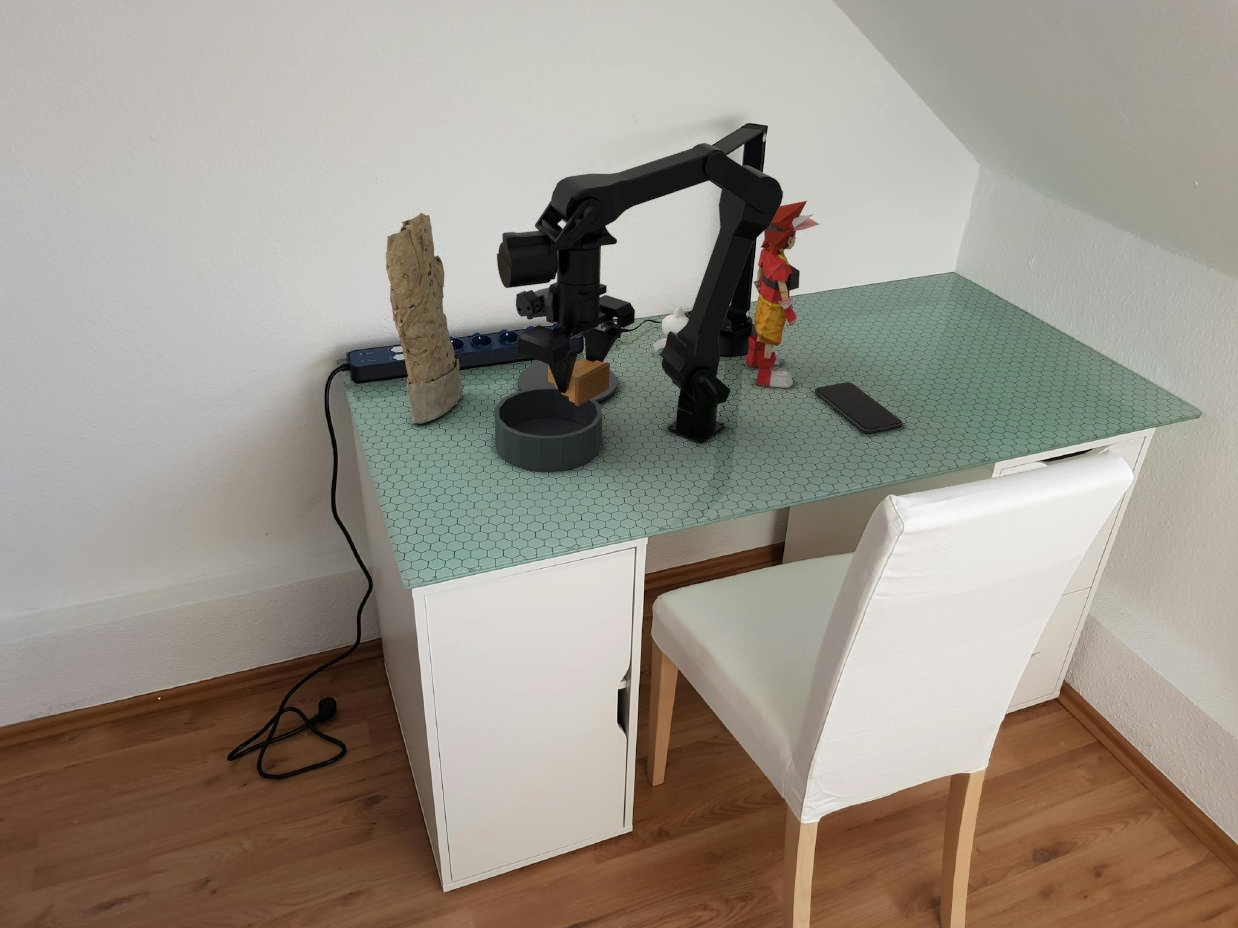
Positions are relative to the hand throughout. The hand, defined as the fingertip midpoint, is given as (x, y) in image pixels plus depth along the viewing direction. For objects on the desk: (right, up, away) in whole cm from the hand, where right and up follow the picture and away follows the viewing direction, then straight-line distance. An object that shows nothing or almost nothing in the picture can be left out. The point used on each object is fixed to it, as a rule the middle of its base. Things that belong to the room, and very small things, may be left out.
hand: (577, 384), depth 137 cm
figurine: (+16, +6, +31) cm, 36 cm away
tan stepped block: (-1, -1, +1) cm, 1 cm away
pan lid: (-3, +2, +23) cm, 24 cm away
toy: (+32, +4, +30) cm, 44 cm away
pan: (-5, -8, +8) cm, 12 cm away
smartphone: (+44, -2, +20) cm, 48 cm away
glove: (-24, -2, +17) cm, 29 cm away
